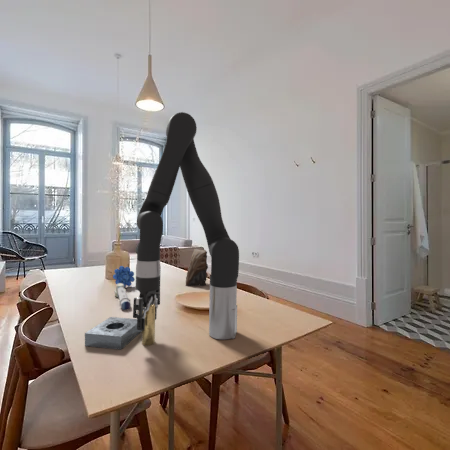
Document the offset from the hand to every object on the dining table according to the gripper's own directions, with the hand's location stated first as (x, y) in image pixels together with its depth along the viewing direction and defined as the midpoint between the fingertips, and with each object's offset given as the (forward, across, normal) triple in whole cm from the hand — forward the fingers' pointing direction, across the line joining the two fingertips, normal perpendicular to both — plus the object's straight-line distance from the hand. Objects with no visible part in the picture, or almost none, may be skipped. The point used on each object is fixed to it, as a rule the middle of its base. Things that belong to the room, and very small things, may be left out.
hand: (147, 324), depth 90 cm
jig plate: (+6, +1, +11) cm, 13 cm away
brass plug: (+6, 0, -1) cm, 6 cm away
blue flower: (+6, +58, +41) cm, 72 cm away
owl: (+6, +76, +6) cm, 76 cm away
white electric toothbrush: (+6, +37, +30) cm, 47 cm away
